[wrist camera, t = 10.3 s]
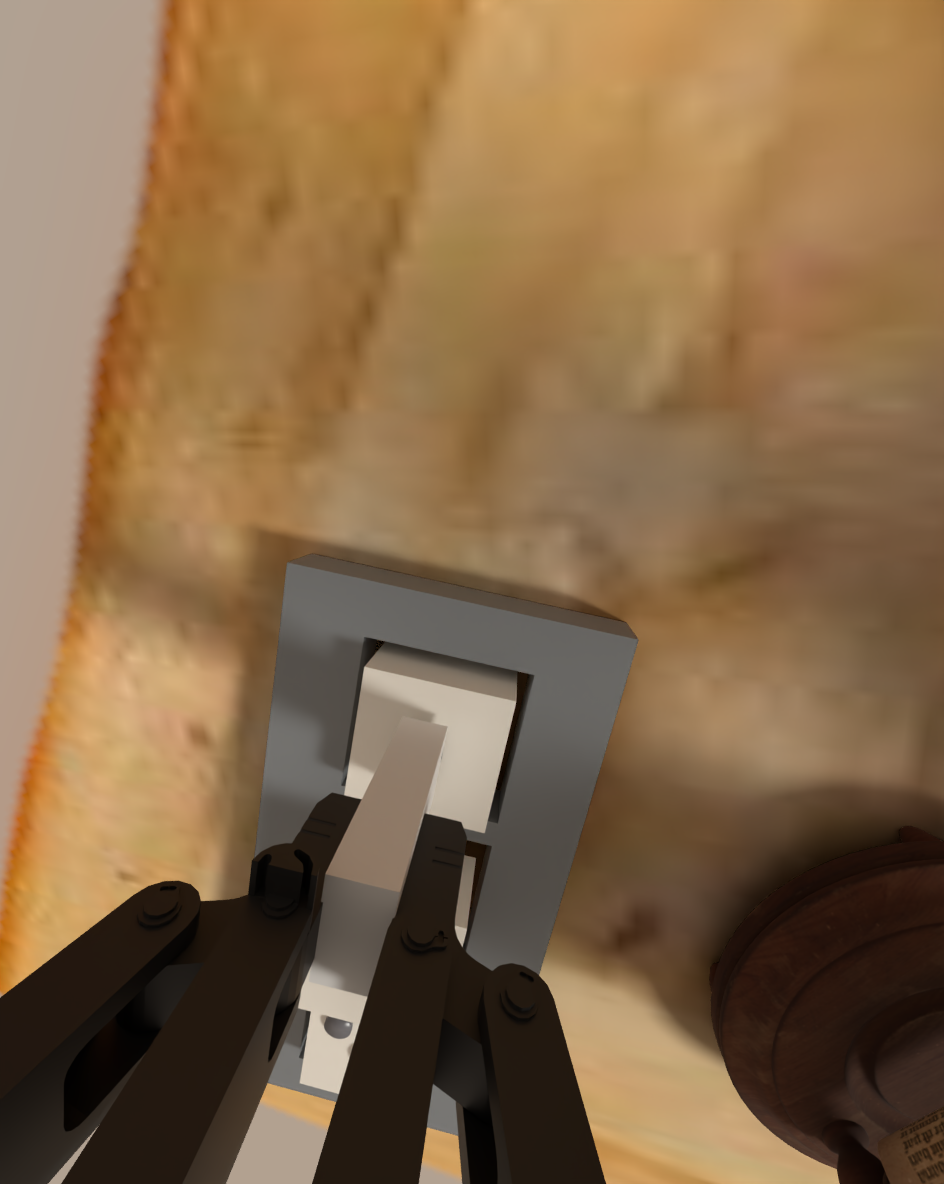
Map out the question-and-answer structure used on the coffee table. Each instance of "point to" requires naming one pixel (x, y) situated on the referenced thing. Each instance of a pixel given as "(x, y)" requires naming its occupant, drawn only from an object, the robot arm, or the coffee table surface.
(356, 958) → the robot arm
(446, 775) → the white die
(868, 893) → the scroll
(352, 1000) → the white die
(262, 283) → the coffee table surface
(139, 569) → the coffee table surface
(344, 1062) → the white die
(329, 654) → the button board
